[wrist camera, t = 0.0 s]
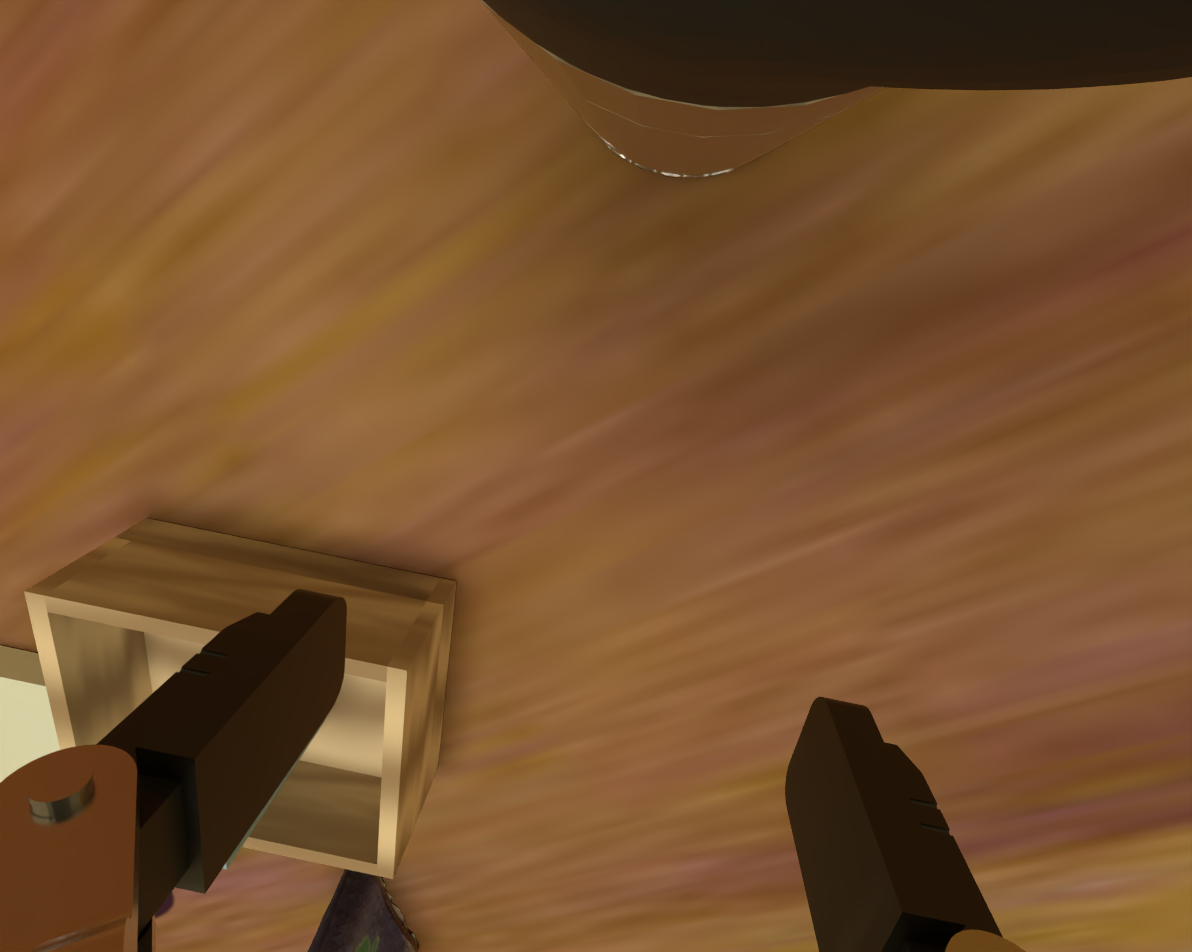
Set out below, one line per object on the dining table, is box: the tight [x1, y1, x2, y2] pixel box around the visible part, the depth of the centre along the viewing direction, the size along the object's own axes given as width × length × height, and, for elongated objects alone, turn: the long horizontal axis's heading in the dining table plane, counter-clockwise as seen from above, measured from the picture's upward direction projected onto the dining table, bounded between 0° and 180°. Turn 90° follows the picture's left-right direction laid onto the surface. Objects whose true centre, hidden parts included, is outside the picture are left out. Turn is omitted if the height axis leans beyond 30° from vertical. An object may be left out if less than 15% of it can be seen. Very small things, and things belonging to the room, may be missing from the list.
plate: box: [0, 645, 60, 783], centre depth 37 cm, size 14×14×2 cm
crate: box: [24, 518, 457, 879], centre depth 30 cm, size 13×16×6 cm
